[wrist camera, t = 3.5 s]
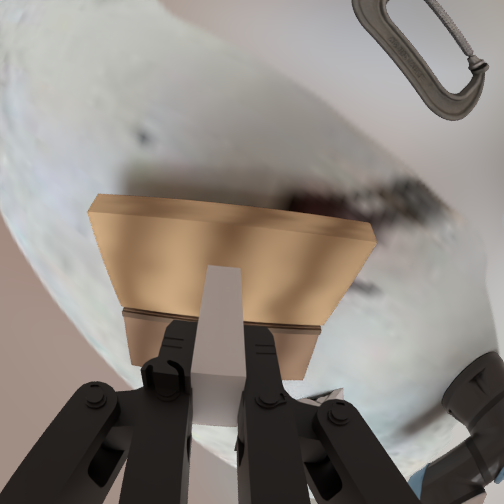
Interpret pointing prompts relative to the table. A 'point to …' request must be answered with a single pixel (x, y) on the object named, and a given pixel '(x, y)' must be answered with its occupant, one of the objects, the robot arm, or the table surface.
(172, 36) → the table surface
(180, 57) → the table surface
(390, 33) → the c clamp
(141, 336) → the walnut floor board
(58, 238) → the table surface
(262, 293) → the oak plank
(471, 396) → the robot arm
